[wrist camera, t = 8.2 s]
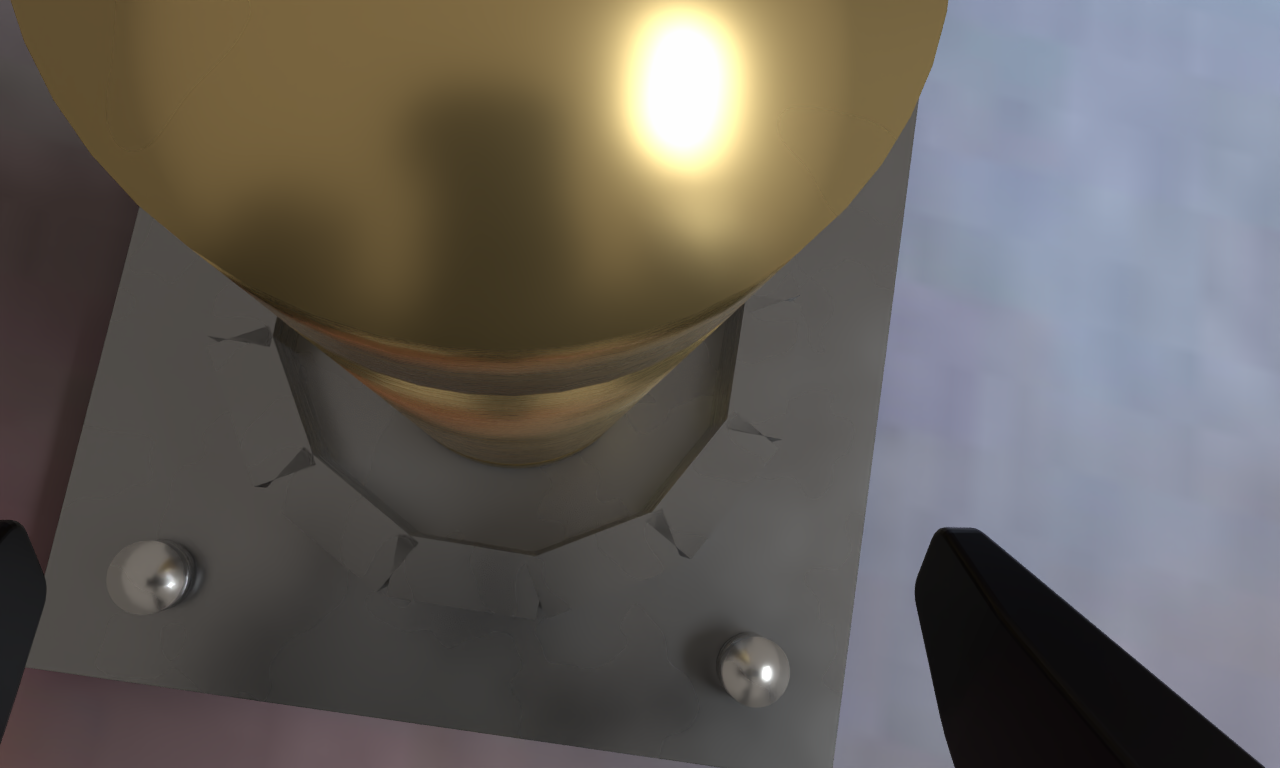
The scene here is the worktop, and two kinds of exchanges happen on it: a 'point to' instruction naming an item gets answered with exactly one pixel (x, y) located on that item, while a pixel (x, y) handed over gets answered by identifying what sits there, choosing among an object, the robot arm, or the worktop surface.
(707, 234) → the brass cylinder
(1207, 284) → the worktop surface
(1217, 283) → the worktop surface
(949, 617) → the robot arm
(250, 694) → the floor flange
